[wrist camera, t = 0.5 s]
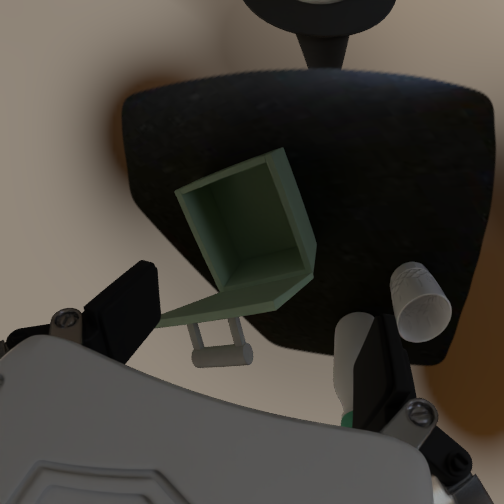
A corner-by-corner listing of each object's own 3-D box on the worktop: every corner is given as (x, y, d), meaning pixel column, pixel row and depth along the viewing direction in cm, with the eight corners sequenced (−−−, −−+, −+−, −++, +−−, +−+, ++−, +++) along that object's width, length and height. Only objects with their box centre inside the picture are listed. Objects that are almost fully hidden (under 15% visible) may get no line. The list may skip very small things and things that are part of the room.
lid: (138, 322, 23) (155, 375, 23) (273, 300, 19) (290, 370, 19) (219, 292, 38) (228, 329, 38) (312, 272, 33) (321, 313, 33)
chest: (202, 177, 41) (174, 191, 34) (283, 147, 37) (270, 152, 29) (239, 263, 46) (220, 293, 38) (316, 244, 41) (313, 273, 33)
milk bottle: (327, 321, 46) (317, 422, 29) (368, 303, 43) (379, 404, 25) (346, 350, 48) (342, 446, 30) (385, 334, 45) (396, 432, 27)
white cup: (400, 309, 42) (411, 351, 33) (376, 276, 41) (386, 316, 32) (439, 283, 38) (459, 321, 30) (418, 247, 37) (438, 281, 28)
